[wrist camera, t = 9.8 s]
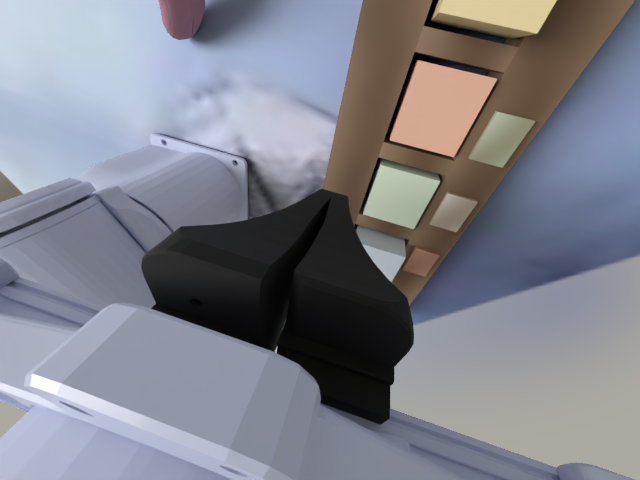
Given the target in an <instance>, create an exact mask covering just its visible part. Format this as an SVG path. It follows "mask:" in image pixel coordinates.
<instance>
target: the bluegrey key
mask: <svg viewBox="0 0 640 480" xmlns="http://www.w3.org/2000/svg"><path fill="white" fill-rule="evenodd" d="M356 232H357V234H358V237H359V239H360V241H361V243H362V245H363V247H364V248H365V250H366V252H367V253H368V255H369V256H370V258H371V259H372V260H373V262H374V263H375V264H376V266H377V267H378V268H379V269H380V270H381V272H382V273H383V274H384V275H385V276H386V277H387V278H388V279H389V280H390V281H391V282H392V280H393V279H394V277H395V275H396V274H397V272H398V270H399V269H400V267H401V265H402V263H403V262H404V260H405V258H406V251H405V238H401V237H398V236H395V235H391V234H388V233H385V232H381V231H378V230H374V229H371V228H368V227H364V226H361V225H358V226H357V229H356Z"/></svg>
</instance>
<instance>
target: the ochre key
mask: <svg viewBox="0 0 640 480" xmlns="http://www.w3.org/2000/svg"><path fill="white" fill-rule="evenodd" d="M556 1H557V0H438V2H437V4H436V7H435V10H434V13H433V16H432V18H431V21H432V22H436V23H441V24H445V25H450V26H454V27H459V28H463V29H468V30H472V31H477V32H481V33H486V34H490V35H495V36H499V37H504V38H508V39H513V38H518V37H523V36H528V35H534V34H537V33H538V32H539V30H540V28H541V27H542V25H543V23H544V22H545V20H546V18H547V16H548V15H549V13H550V11H551V10H552V8H553V6H554V5H555V3H556Z"/></svg>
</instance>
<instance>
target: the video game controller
mask: <svg viewBox="0 0 640 480" xmlns="http://www.w3.org/2000/svg"><path fill="white" fill-rule="evenodd" d="M158 1H159V4H160V9H161V15H162V20H163V24H164V26H165V28H166V30H167V32H168V33H169V34H170V35H171V36H172V37H173V38H175V39H178V40H182V39H188V38H190V37H192V36H193V35H194V34H195V33H196V32H197V30H198V28H199V26H200V24H201V22H202V19H203V15H204V8H205V0H158Z"/></svg>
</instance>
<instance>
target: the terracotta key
mask: <svg viewBox="0 0 640 480" xmlns="http://www.w3.org/2000/svg"><path fill="white" fill-rule="evenodd" d="M496 81H497V79H496V78H492V77H487V76H483V75H479V74H475V73H470V72H466V71H462V70H458V69H454V68H449V67H445V66H441V65H437V64H432V63H428V62H424V61H420V60H415V61H414V63H413V66H412V69H411V72H410V75H409V78H408V80H407V83H406V86H405V89H404V92H403V95H402V98H401V100H400V103H399V106H398V109H397V112H396V115H395V117H394V120H393V123H392V126H391V129H390V141H394V142H398V143H402V144H405V145H409V146H413V147H417V148H421V149H424V150H428V151H432V152H436V153H439V154H443V155H447V156H451V157H454V156H455V154H456V153H457V151H458V149H459V147H460V145H461V144H462V142H463V140H464V138H465V136H466V135H467V133H468V131H469V129H470V127H471V126H472V124H473V122H474V120H475V118H476V117H477V115H478V113H479V111H480V109H481V108H482V106H483V104H484V102H485V100H486V99H487V97H488V95H489V93H490V92H491V90H492V88H493V86H494V84H495V83H496Z"/></svg>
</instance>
